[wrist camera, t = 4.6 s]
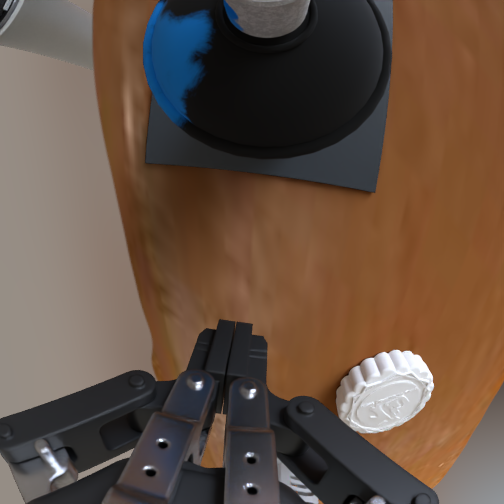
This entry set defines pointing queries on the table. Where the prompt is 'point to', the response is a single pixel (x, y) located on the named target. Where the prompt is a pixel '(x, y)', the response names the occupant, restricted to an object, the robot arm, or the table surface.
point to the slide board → (302, 167)
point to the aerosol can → (267, 71)
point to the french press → (295, 483)
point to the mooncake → (384, 391)
